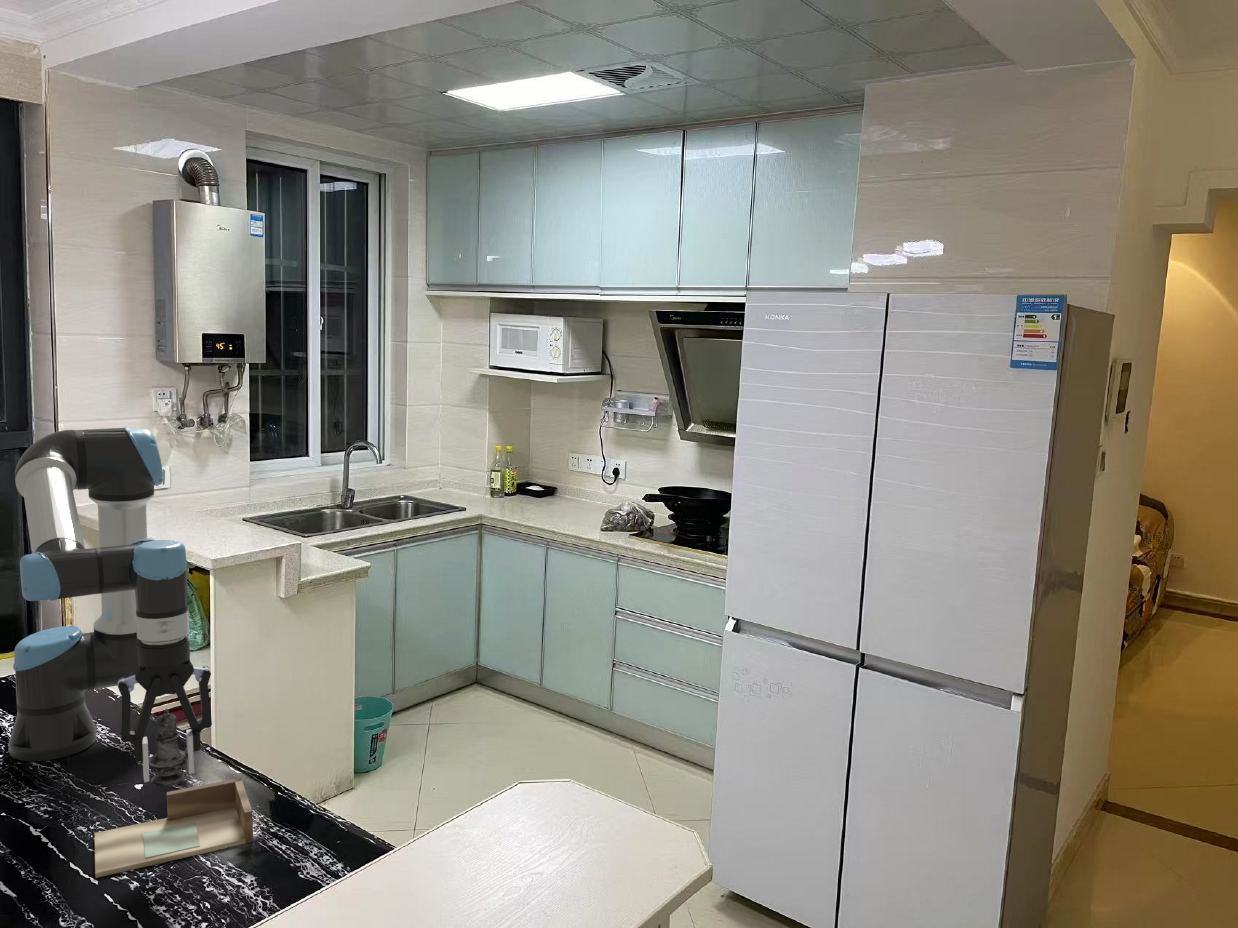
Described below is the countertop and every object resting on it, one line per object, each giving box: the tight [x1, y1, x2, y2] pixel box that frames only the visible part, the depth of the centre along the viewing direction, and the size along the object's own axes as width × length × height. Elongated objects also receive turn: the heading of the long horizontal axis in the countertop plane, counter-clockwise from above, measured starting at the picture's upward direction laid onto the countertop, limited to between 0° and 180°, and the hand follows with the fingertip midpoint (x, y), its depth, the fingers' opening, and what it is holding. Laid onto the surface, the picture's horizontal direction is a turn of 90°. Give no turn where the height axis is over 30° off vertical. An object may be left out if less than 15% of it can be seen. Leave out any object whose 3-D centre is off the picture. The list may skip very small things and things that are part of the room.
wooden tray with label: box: [94, 777, 254, 879], centre depth 154 cm, size 13×23×6 cm, turn 120°
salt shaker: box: [148, 708, 188, 788], centre depth 150 cm, size 6×6×12 cm
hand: (168, 773), depth 151 cm, fingers closed on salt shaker, 6 cm apart
